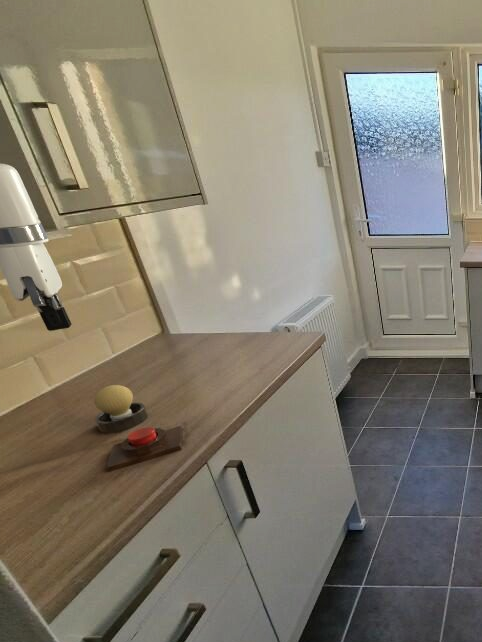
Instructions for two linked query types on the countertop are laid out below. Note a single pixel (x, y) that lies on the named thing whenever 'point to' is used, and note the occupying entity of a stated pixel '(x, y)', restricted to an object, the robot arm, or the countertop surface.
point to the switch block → (145, 449)
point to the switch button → (142, 436)
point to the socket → (125, 423)
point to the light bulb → (114, 401)
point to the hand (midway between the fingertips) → (60, 328)
